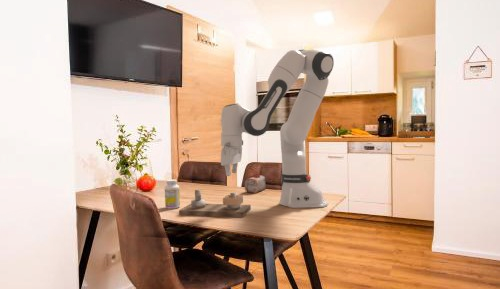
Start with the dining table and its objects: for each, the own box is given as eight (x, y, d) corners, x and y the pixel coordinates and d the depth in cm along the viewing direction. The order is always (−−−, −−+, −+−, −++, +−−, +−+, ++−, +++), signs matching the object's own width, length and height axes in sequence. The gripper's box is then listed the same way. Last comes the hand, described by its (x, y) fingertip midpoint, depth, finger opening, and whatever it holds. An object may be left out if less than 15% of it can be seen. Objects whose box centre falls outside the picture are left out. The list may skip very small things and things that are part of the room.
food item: (256, 194, 195) (256, 176, 195) (243, 193, 199) (243, 175, 198) (266, 189, 207) (266, 172, 207) (254, 189, 211) (254, 172, 210)
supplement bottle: (173, 205, 172) (172, 178, 171) (182, 207, 167) (182, 179, 167) (162, 208, 166) (161, 180, 166) (171, 209, 162) (170, 181, 161)
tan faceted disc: (243, 201, 156) (243, 195, 156) (239, 205, 150) (238, 198, 150) (227, 201, 158) (227, 194, 158) (223, 205, 151) (222, 198, 151)
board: (250, 209, 160) (250, 188, 159) (243, 217, 146) (242, 194, 145) (191, 207, 166) (191, 187, 165) (179, 215, 152) (178, 192, 152)
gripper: (232, 143, 142) (232, 178, 142) (244, 141, 162) (244, 171, 162) (216, 143, 143) (216, 177, 144) (230, 141, 163) (230, 171, 164)
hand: (231, 174), depth 153 cm, fingers open, 8 cm apart
